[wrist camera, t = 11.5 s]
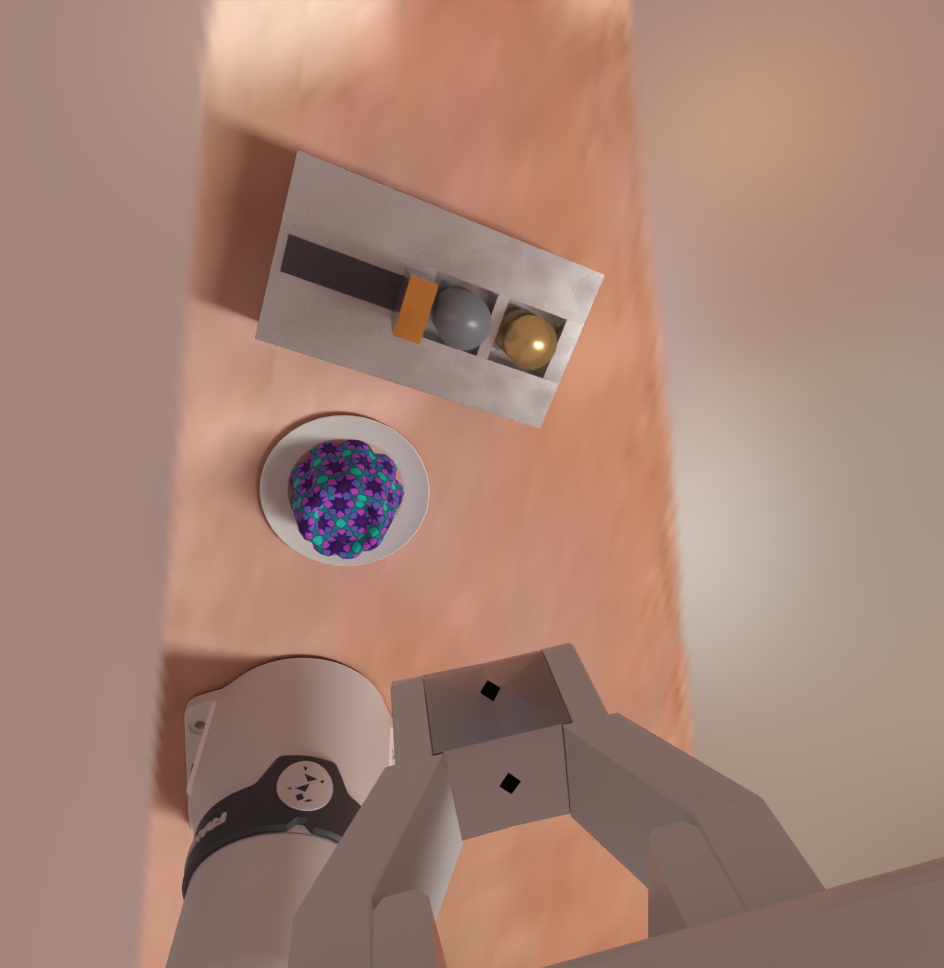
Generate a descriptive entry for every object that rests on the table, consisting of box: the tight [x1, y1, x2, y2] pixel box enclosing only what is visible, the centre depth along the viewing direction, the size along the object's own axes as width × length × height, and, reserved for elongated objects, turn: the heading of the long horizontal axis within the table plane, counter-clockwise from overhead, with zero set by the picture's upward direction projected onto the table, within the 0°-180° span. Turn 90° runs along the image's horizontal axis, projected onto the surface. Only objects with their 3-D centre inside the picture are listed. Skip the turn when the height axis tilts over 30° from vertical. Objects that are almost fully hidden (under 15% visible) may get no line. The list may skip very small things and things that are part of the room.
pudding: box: [260, 415, 429, 566], centre depth 41 cm, size 12×12×5 cm
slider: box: [390, 267, 439, 344], centre depth 31 cm, size 3×1×5 cm, turn 160°
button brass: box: [496, 309, 557, 369], centre depth 36 cm, size 3×3×4 cm
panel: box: [255, 150, 604, 429], centre depth 36 cm, size 10×18×5 cm, turn 70°
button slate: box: [431, 287, 491, 350], centre depth 34 cm, size 3×3×4 cm
